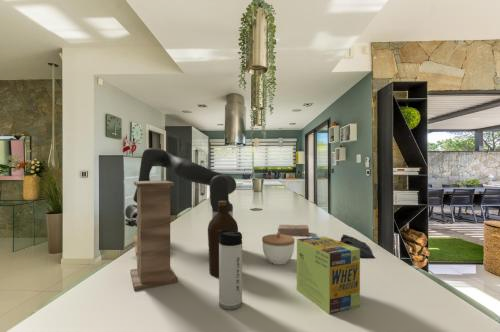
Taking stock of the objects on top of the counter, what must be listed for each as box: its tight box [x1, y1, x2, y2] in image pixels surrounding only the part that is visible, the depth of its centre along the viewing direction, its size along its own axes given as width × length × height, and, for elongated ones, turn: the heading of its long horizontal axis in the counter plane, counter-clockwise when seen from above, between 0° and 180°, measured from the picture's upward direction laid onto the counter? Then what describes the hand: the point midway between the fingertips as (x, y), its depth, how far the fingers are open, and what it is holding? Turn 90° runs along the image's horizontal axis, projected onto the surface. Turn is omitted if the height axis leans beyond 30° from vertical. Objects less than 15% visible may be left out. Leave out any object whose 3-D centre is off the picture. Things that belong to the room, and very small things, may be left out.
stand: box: [130, 180, 179, 292], centre depth 92 cm, size 15×13×32 cm
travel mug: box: [218, 230, 243, 311], centre depth 74 cm, size 6×7×20 cm
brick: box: [277, 224, 310, 237], centre depth 151 cm, size 17×8×5 cm, turn 81°
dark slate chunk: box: [338, 234, 375, 259], centre depth 123 cm, size 15×22×5 cm
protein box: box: [296, 236, 361, 315], centre depth 78 cm, size 10×15×16 cm
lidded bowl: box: [261, 232, 296, 265], centre depth 108 cm, size 13×13×11 cm
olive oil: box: [207, 201, 239, 278], centre depth 97 cm, size 11×11×25 cm
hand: (143, 224), depth 115 cm, fingers closed on paddle, 3 cm apart
